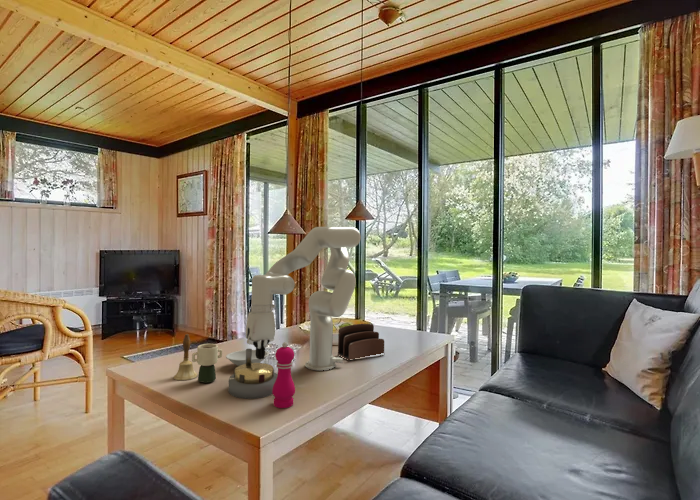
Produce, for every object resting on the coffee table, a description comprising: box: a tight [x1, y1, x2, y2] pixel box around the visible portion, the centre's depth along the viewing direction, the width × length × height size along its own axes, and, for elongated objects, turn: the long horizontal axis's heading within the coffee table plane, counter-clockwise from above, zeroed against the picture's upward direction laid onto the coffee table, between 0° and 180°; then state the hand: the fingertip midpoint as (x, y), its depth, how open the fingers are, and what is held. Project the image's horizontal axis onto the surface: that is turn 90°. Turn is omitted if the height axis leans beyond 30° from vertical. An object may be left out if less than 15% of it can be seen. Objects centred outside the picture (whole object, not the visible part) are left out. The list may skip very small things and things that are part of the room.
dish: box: [225, 349, 270, 367], centre depth 161 cm, size 18×14×5 cm
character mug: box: [191, 343, 223, 383], centre depth 143 cm, size 11×7×13 cm, turn 128°
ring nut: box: [233, 348, 275, 384], centre depth 137 cm, size 13×13×8 cm
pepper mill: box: [272, 341, 296, 409], centre depth 125 cm, size 7×7×20 cm
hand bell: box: [173, 333, 198, 381], centre depth 147 cm, size 8×8×16 cm
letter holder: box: [337, 323, 385, 360], centre depth 182 cm, size 10×20×14 cm, turn 122°
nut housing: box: [228, 372, 278, 400], centre depth 137 cm, size 17×17×4 cm
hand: (260, 358), depth 144 cm, fingers closed
